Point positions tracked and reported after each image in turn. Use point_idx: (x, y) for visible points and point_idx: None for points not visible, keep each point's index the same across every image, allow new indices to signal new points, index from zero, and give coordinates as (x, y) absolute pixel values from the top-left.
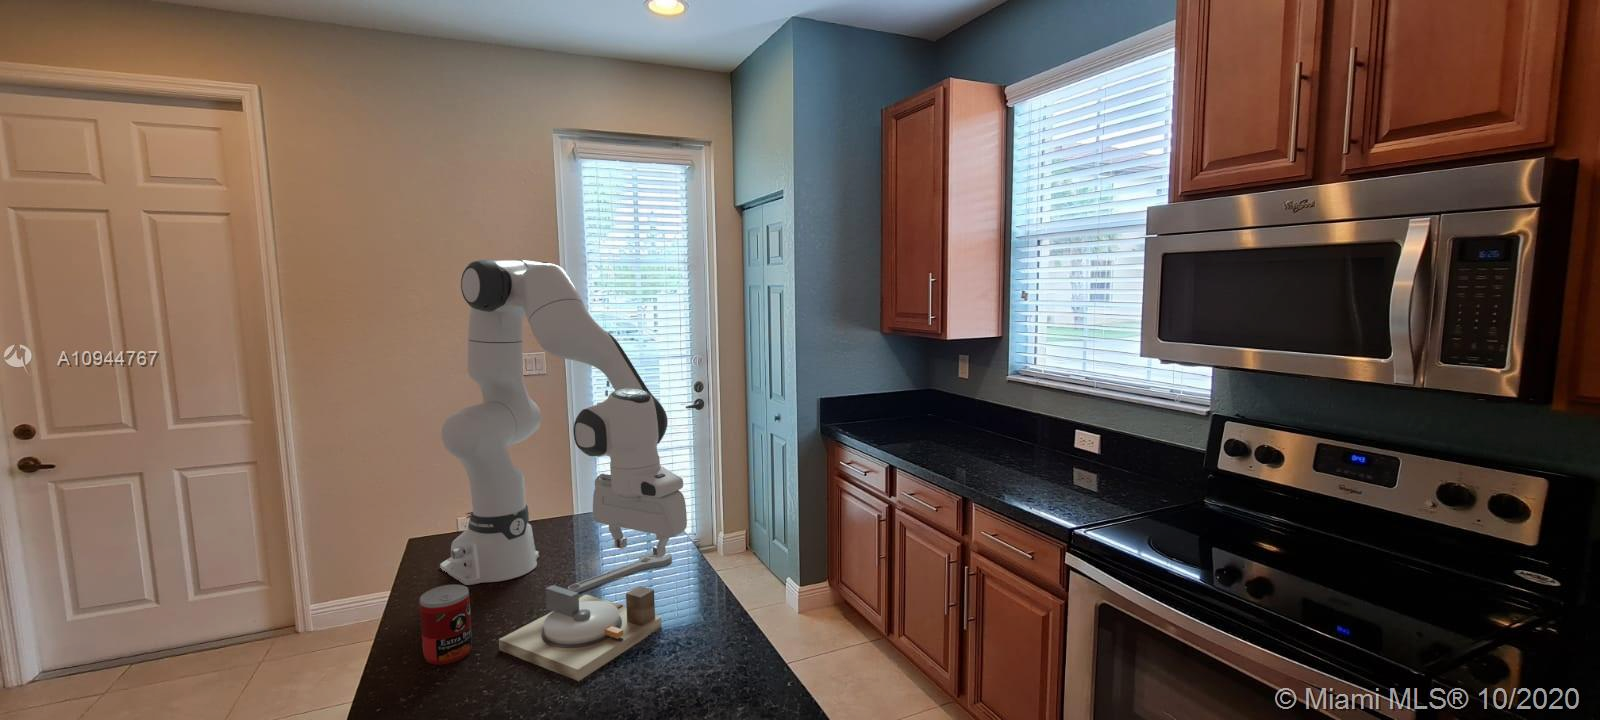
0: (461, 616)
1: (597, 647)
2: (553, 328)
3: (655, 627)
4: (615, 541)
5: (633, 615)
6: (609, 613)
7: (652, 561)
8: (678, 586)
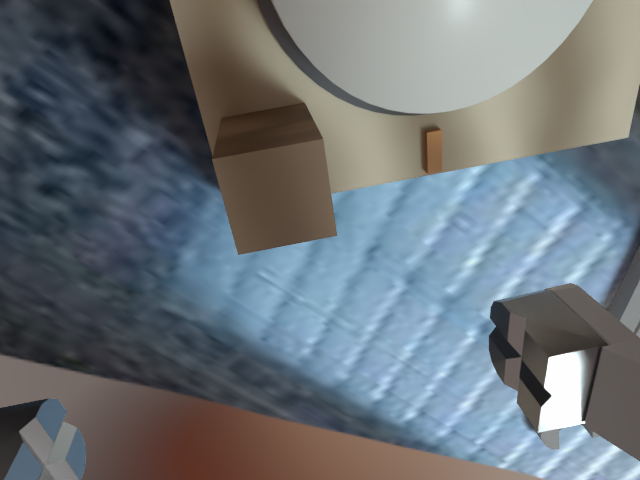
0: None
1: None
2: None
3: None
4: (604, 324)
5: (266, 118)
6: (360, 45)
7: None
8: (406, 371)
